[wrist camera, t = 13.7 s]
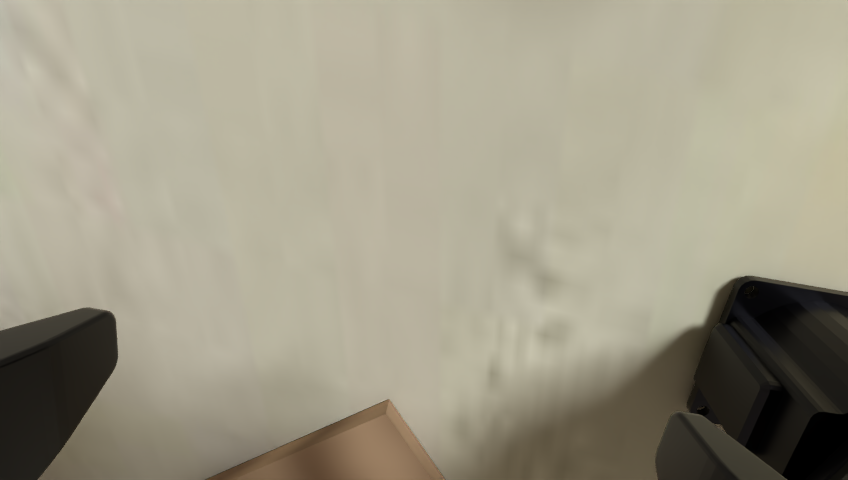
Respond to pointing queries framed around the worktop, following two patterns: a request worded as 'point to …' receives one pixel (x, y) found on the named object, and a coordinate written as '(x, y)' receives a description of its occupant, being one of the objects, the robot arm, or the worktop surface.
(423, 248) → the worktop surface
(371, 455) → the bit holder
